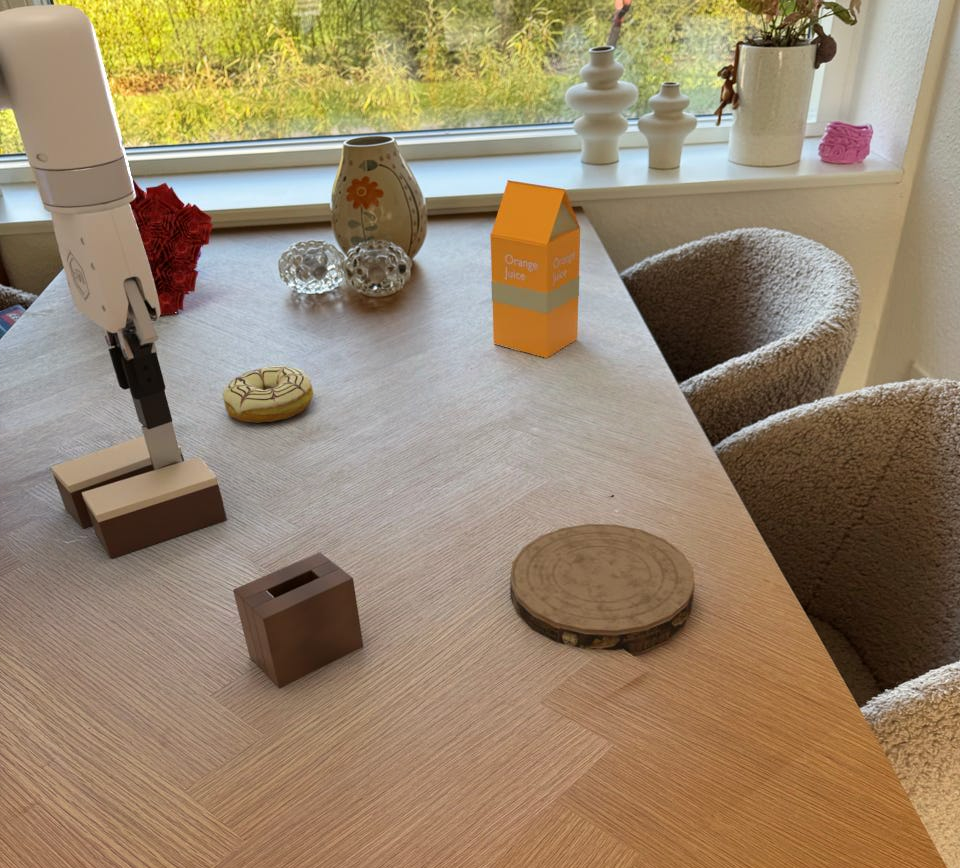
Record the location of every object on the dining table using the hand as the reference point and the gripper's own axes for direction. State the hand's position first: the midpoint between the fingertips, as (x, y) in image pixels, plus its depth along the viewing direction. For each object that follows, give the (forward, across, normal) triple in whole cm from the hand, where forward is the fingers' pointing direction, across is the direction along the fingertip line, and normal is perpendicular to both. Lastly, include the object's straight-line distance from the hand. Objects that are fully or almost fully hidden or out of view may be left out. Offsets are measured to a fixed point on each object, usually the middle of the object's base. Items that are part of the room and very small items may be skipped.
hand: (142, 388), depth 91 cm
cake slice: (+13, +3, -3) cm, 14 cm away
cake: (+13, -5, -3) cm, 15 cm away
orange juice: (+14, -7, +56) cm, 58 cm away
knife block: (+13, +31, -2) cm, 34 cm away
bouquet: (+14, -67, +29) cm, 74 cm away
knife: (+13, 0, 0) cm, 13 cm away
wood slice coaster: (+14, +41, +22) cm, 48 cm away
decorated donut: (+14, -14, +19) cm, 27 cm away
